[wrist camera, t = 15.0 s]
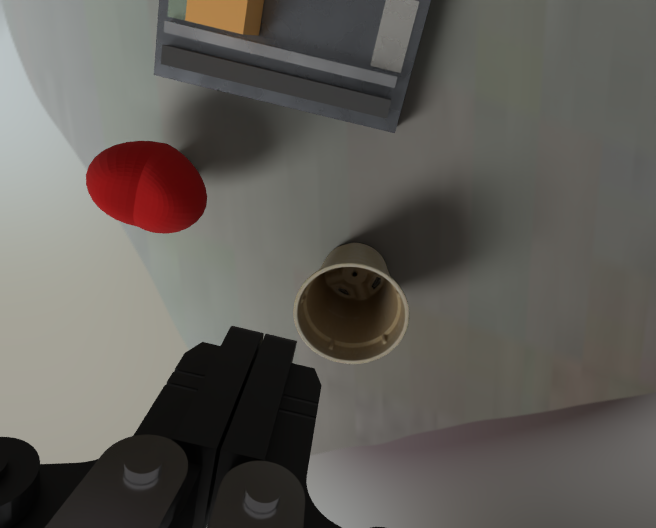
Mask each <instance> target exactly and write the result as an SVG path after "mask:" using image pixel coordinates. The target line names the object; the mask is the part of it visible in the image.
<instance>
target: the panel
mask: <svg viewBox="0 0 656 528" xmlns="http://www.w3.org/2000/svg"><path fill="white" fill-rule="evenodd" d="M430 2H431V0H264V4H263V11H262V18H261V25H260V31H259V36H256V35H243V34H239V33H235V32H231V31H227V30H222V29H218V28H214V27H210V26H206V25H202V24H198V23H194V22H190V21H185V17H186V6H187V0H159V11H158V25H157V39H156V53H155V67H154V75H157V76H161V77H165V78H169V79H173V80H177V81H181V82H185V83H190V84H194V85H198V86H202V87H206V88H210V89H214V90H219V91H223V92H227V93H231V94H235V95H239V96H243V97H247V98H252V99H256V100H260V101H264V102H268V103H272V104H276V105H281V106H285V107H289V108H293V109H297V110H301V111H305V112H309V113H314V114H318V115H322V116H326V117H330V118H334V119H338V120H342V121H347V122H351V123H355V124H359V125H363V126H367V127H371V128H376V129H380V130H384V131H388V132H392V133H395V131H396V127H397V123H398V120H399V116H400V112H401V109H402V105H403V101H404V98H405V94H406V90H407V86H408V83H409V79H410V75H411V72H412V68H413V64H414V61H415V57H416V53H417V50H418V46H419V42H420V39H421V35H422V31H423V28H424V24H425V20H426V17H427V13H428V9H429V6H430ZM162 45H172V46H176V47H180V48H184V49H188V50H192V51H196V52H201V53H205V54H209V55H213V56H217V57H221V58H225V59H229V60H234V61H238V62H242V63H246V64H250V65H254V66H258V67H262V68H267V69H271V70H275V71H279V72H283V73H287V74H291V75H295V76H299V77H304V78H308V79H312V80H316V81H320V82H324V83H328V84H332V85H337V86H341V87H345V88H349V89H353V90H357V91H361V92H365V93H370V94H374V95H378V96H382V97H386V98H390V99H391V104H390V108H389V112H388V116H387V119H386V118H381V117H377V116H373V115H369V114H365V113H361V112H357V111H353V110H348V109H344V108H340V107H336V106H332V105H328V104H324V103H320V102H315V101H311V100H307V99H303V98H299V97H295V96H291V95H287V94H282V93H278V92H274V91H270V90H266V89H262V88H258V87H253V86H249V85H245V84H241V83H237V82H233V81H229V80H225V79H220V78H216V77H212V76H208V75H204V74H200V73H196V72H192V71H187V70H183V69H179V68H175V67H171V66H167V65H163V64H161V54H162Z"/></svg>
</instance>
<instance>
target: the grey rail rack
mask: <svg viewBox="0 0 656 528" xmlns="http://www.w3.org/2000/svg"><path fill="white" fill-rule="evenodd" d="M161 64H163V65H167V66H171V67H175V68H179V69H183V70H187V71H192V72H196V73H200V74H204V75H208V76H212V77H216V78H220V79H225V80H229V81H233V82H237V83H241V84H245V85H249V86H253V87H258V88H262V89H266V90H270V91H274V92H278V93H282V94H287V95H291V96H295V97H299V98H303V99H307V100H311V101H315V102H320V103H324V104H328V105H332V106H336V107H340V108H344V109H348V110H353V111H357V112H361V113H365V114H369V115H373V116H377V117H381V118H386V119H387V116H388V112H389V108H390V104H391V99H390V98H386V97H382V96H378V95H374V94H370V93H365V92H361V91H357V90H353V89H349V88H345V87H341V86H337V85H332V84H328V83H324V82H320V81H316V80H312V79H308V78H304V77H299V76H295V75H291V74H287V73H283V72H279V71H275V70H271V69H267V68H262V67H258V66H254V65H250V64H246V63H242V62H238V61H234V60H229V59H225V58H221V57H217V56H213V55H209V54H205V53H201V52H196V51H192V50H188V49H184V48H180V47H176V46H172V45H162V54H161Z"/></svg>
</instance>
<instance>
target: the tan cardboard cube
mask: <svg viewBox="0 0 656 528" xmlns="http://www.w3.org/2000/svg"><path fill="white" fill-rule="evenodd" d="M263 4H264V0H187V6H186V17H185V21H190V22H194V23H198V24H202V25H206V26H210V27H214V28H218V29H222V30H227V31H231V32H235V33H239V34H243V35H256V36H259V31H260V25H261V18H262V11H263Z"/></svg>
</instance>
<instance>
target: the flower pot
mask: <svg viewBox="0 0 656 528" xmlns="http://www.w3.org/2000/svg"><path fill="white" fill-rule="evenodd" d="M353 272H356V273H357V275H356V276H353V274H352V273H353ZM377 277H378V278H380V279H381V281H380V283H379V284H378V285H377V286H376V287H375V288H373V287H372V285H373V283H374V282H375V280H376V278H377ZM339 288H341V289H343V290H344V289H345V290H346V291H347V292H348V294H345V293H343V292H341V291H340V290H339ZM294 322H295V325H296V328H297V331H298V333H299V335H300V337H301V338H302V340H303V341H304V342H305V343H306V345H307V346H308V347H309V348H310V349H312V350H313V351H314V352H315V353H317V354H319V355H320V356H322V357H324V358H326V359H328V360H331V361H335V362H339V363H345V364H361V363H367V362H371V361H374V360H377V359H379V358H381V357H383V356H385V355H387V354H388V353H389V352H391V351H392V350H393V349H394V348H395V347H396V346H397V345H398V344H399V343H400V341H401V340H402V338H403V337H404V335H405V333H406V330H407V327H408V323H409V306H408V302H407V299H406V297H405V294H404V292H403V291H402V289H401V288H400V286H399V285H398V284H397V283H396V281H395V280H394V279H393V278H392V277H390V275H389V272H388V269H387V265H386V263H385V261H384V259H383V257H382V256H381V255H380V253H378V252H377V251H376V250H375V249H374V248H372V247H370V246H368V245H365V244H361V243H349V244H345V245H342V246H339V247H337V248H335V249H334V250H333V251H332V252H331V253H330V254H329V255H328V256H327V258H326V259H325V261H324V263H323V265H322V266H321V268H320V270H318V271H317V272H315V273H314V274H312V275H311V276H310V277H309V278H308V279H307V280H306V281H305V282H304V283H303V285H302V286H301V288H300V290H299V291H298V294H297V296H296V299H295V303H294Z"/></svg>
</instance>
